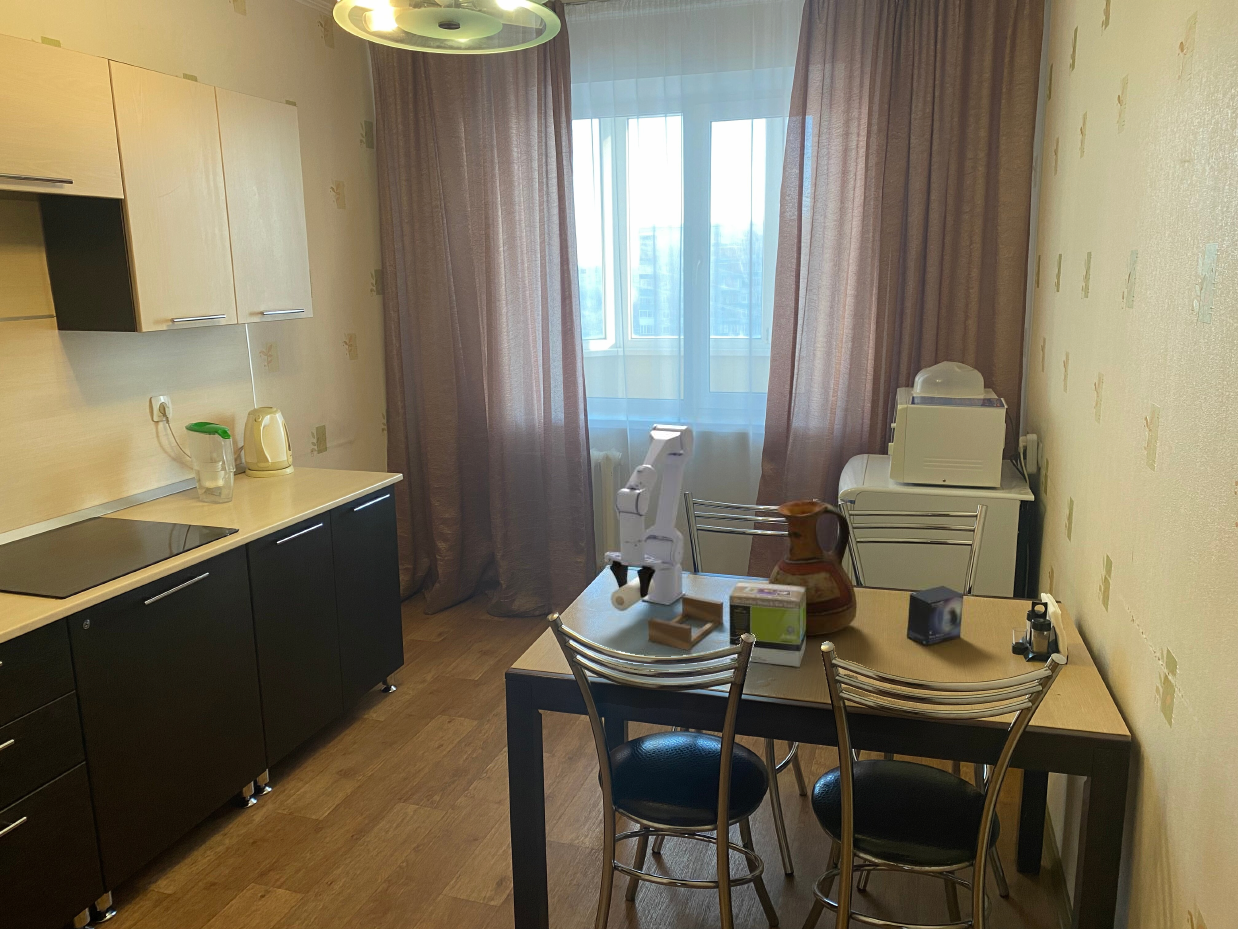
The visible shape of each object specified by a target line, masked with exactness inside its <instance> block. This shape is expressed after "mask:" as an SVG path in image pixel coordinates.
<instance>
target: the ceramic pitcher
mask: <svg viewBox="0 0 1238 929" xmlns="http://www.w3.org/2000/svg"><path fill="white" fill-rule="evenodd" d="M777 513H778V515H780V516H781V517H782V518H783V519H784V520H785V522H786V523H787V537H788V539H789V541H790V544H789V548H788V553H786V554H785V555H784V556H783V557H782V558H781V559H780V560H779V562H777V564H776V565H775V566H774V568H773V570H772V572H771V575H770V576H769V580H768V584H779V585H792V586H804V587H806V636H813V635H814V636H815V635H822V634H829V633H830V634H831V633H834V632H837V631H839V630H842V629H843V628H845V627H847V626H849V625H851V624H852V623H853V621H855V618H856V617H857V616H856V615H857V608H858V606H857V603H858V602H857V596H856V591H855V588H854V585H853V582H852V580H851V578H850V576H849V574H848V573H847V571H846V570H845V568H844V566H843V560H844V556H845V555H846V554H845V553H846V550H847V547H848V544H849V541H850V525H849V522H848V518H847V517H845V515H844V514H843V513H842V511H841V510H839V509H838V508H837V507H835V506H834V505H831V504H830V503H828V502H822V501H819V500H818V501H817V500H810V499H808V500H807V499H803V500H800V501H799V500H793V501H789V502H785V503H783V504H781V505H779V506H778V508H777ZM828 514H829V515H834V516H835V517H836V519H837V523H838V534H837V539H836V542H835V544H834V546H833V548H832V550H830V551H829V552H827V551H825V550H823V549H822V548H821V546H820V543H819V540H818V533H817V524H818V520H819V519H820V517H821V516H823V515H828Z"/></svg>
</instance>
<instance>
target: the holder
mask: <svg viewBox="0 0 1238 929" xmlns="http://www.w3.org/2000/svg"><path fill="white" fill-rule="evenodd" d="M687 619H692V620H698V621H702V622H707V624H705V625H704V626H703V627H702V628H700V629H699V630H698V631H696V632H695V633H694V634H693V635H692V625H687V624H683V622H684V621H685V620H687ZM647 621H648V622H647V623H648V625H647V626H648V628H647V629H648V630H647V631H648V642H650V643H655V644H660V645H664V646H669V647H672V648H678V649H682V650H687V651H690V649H691V648H692V647H693V646H694V645H695V644H696V643H698V642H699V641H701V639H702V638H703V637H705V636H707V634H709V633H710V632H711V631H712V630H714V629H715V628H716V627H717V626H718V625H722V623H724V602H723V601H720V600H716V599H715V600H714V599H709V598H703V597H698V596H693V595H688V594H684V595H683V596H681V613H680V614H679V615H677V616H676V617H675V618H673V619H671V620H670V621H666V620H663V619H658V618H653V617H651V618H650V619H648V620H647ZM681 623H682V624H681Z"/></svg>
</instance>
